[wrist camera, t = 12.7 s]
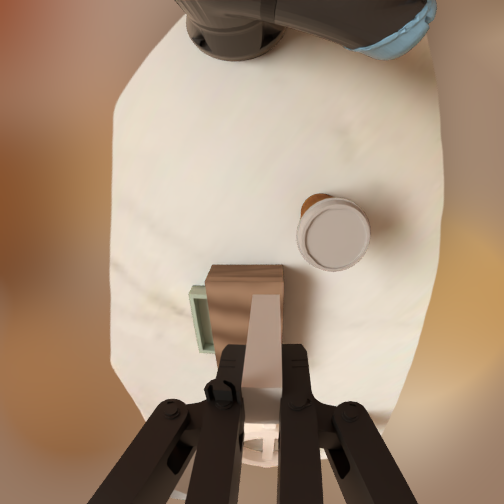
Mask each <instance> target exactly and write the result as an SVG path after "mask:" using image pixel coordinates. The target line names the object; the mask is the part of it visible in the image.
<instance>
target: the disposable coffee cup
mask: <svg viewBox="0 0 504 504" xmlns="http://www.w3.org/2000/svg"><path fill="white" fill-rule="evenodd" d="M370 234H371V232H370V224H369V220H368V218H367V216H366V214H365V212H364V211H363V210H362V209H361V208H360V207H359V206H358V205H357V204H355V203H354V202H352V201H350V200H347V199H343V198H335V197H332V196H329V195H327V194H315V195H312V196H310V197H309V198H308V199H307V200H306V201H305V202H304V204H303V206H302V209H301V218H300V221H299V224H298V228H297V234H296V238H297V245H298V248H299V251H300V253H301V255H302V256H303V257H304V259H305V260H306V261H307V262H308V263H310V264H311V265H313V266H314V267H316V268H319V269H322V270H325V271H332V272H336V271H342V270H346V269H348V268H350V267H352V266H353V265H355V264H356V263H357V262H359V261H360V260H361V258H362V257H363V256H364V254H365V253H366V251H367V248H368V246H369V241H370Z"/></svg>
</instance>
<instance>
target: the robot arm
mask: <svg viewBox="0 0 504 504" xmlns="http://www.w3.org/2000/svg"><path fill="white" fill-rule="evenodd" d="M175 1H176V2H177V4H178V5H179V6H180V7H181V8H182V9H183V11H184V12H185V13H186V14H187V18H186V27H187V31H188V34H189V37H190V38H191V40H192V41H193V43H194V44H195V45H196V46H197V47H198V48H199V49H200V50H201V51H202V52H204V53H205V54H207V55H209V56H211V57H213V58H216V59H220V60H226V61H242V60H248V59H252V58H255V57H258V56H260V55H262V54H264V53H266V52H268V51H269V50H271V49H272V48H273V47H274V46H275V45H276V44H277V43H278V42H279V41H280V39H281V38H282V36H283V34H284V32H285V28H286V27H288V28H292V29H295V30H299V31H302V32H305V33H309V34H312V35H315V36H318V37H321V38H324V39H326V40H329V41H332V42H335V43H337V44H340V45H342V46H343V47H344V48H346V49H347V50H350V51H354V52H359V53H362V54H364V55H367V56H369V57H372V58H374V59H378V60H392V59H395V58H398V57H400V56H402V55H404V54H406V53H407V52H408V51H410V50H411V49H412V48H413V47H414V46H416V45H417V44H418V43H419V42H420V40H421V39H422V38H423V37H424V36H425V34H426V33H427V31H428V30H429V25H428V24H429V23H430V22H431V21H433V20H434V18H435V14H436V10H437V3H436V0H175ZM204 391H205V395H206V398H207V399H206V400H204V401H202V402H199V403H194V404H187V405H185V403H184V402H182V401H180V400H177V399H167V400H165V401H163V402H161V403H160V404H159V405H158V406H157V407H156V409H155V410H154V412H153V413H152V414H151V416H150V417H149V419H148V420H147V421H146V423H145V424H144V426H143V427H142V429H141V430H140V431H139V433H138V434H137V436H136V437H135V438H134V440H133V441H132V443H131V444H130V445H129V447H128V448H127V449H126V451H125V452H124V454H123V455H122V456H121V458H120V459H119V461H118V462H117V463H116V465H115V466H114V468H113V469H112V470H111V472H110V473H109V474H108V476H107V477H106V479H105V480H104V481H103V483H102V484H101V485H100V487H99V488H98V489H97V491H96V492H95V494H94V495H93V497H92V498H91V499H90V500H89V502H88V503H87V504H166V502H167V501H168V499H169V497H170V496H171V494H172V492H173V491H174V489H175V487H176V485H177V484H178V482H179V480H180V478H181V477H182V475H183V473H184V471H185V469H186V468H187V466H188V464H189V462H190V460H191V459H192V457H193V455H194V453H195V451H196V454H195V459H194V463H193V468H192V473H191V477H190V482H189V487H188V491H187V496H186V501H185V504H237V502H238V492H239V483H240V474H241V464H242V455H243V445H244V435H245V434H244V423H250V424H279V436H278V484H277V504H323V489H322V473H321V460H320V448H324V450H325V453H326V455H327V458H328V460H329V462H330V465H331V467H332V469H333V472H334V475H335V477H336V479H337V482H338V484H339V486H340V489H341V491H342V494H343V496H344V499H345V501H346V503H347V504H418V503H417V501H416V499H415V497H414V495H413V494H412V491H411V490H410V488H409V486H408V484H407V482H406V480H405V478H404V477H403V475H402V473H401V471H400V469H399V468H398V466H397V464H396V462H395V460H394V458H393V457H392V455H391V453H390V451H389V449H388V448H387V446H386V444H385V442H384V440H383V439H382V437H381V435H380V433H379V432H378V430H377V428H376V426H375V425H374V423H373V421H372V419H371V418H370V416H369V414H368V412H367V410H366V409H365V408H364V407H363V406H362V405H361V404H359V403H357V402H352V401H349V402H344V403H342V404H339V405H338V406H337V407H336V406H331V405H326V404H323V403H321V402H319V401H318V400H316V399H315V398H314V396H313V394H312V391H311V382H310V374H309V365H308V357H307V351H306V350H305V348H304V347H303V345H302V344H281V316H280V295H252V304H251V312H250V320H249V328H248V336H247V344H246V345H238V344H228V345H227V346H226V347H225V348H224V349H223V351H222V354H221V358H220V363H219V367H218V372H217V376H216V379H214V380H211V381H210V382H209V383H207V384H206V386H205V388H204Z"/></svg>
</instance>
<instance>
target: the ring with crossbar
mask: <svg viewBox="0 0 504 504" xmlns="http://www.w3.org/2000/svg"><path fill="white" fill-rule="evenodd" d="M244 434H245V435H244V441H247V440H252V439H260V438H263V452H262V451H255V450H251V449H248V448H246V447H244V446H243V455H242V463H245V464H249V465H255V466H262V467H270V468H271V466H278V451H276V452H273V450H274V441H275V439H278V436H279V424H250V423H244Z"/></svg>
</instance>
